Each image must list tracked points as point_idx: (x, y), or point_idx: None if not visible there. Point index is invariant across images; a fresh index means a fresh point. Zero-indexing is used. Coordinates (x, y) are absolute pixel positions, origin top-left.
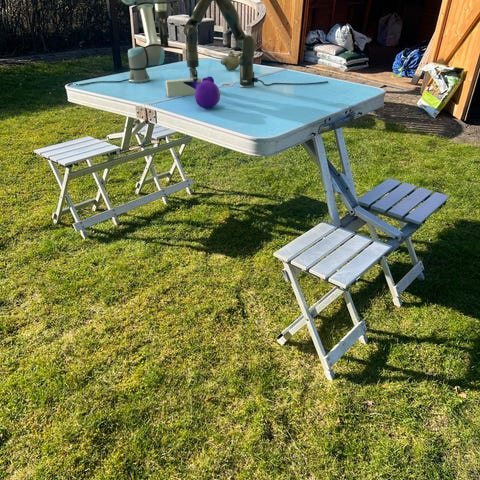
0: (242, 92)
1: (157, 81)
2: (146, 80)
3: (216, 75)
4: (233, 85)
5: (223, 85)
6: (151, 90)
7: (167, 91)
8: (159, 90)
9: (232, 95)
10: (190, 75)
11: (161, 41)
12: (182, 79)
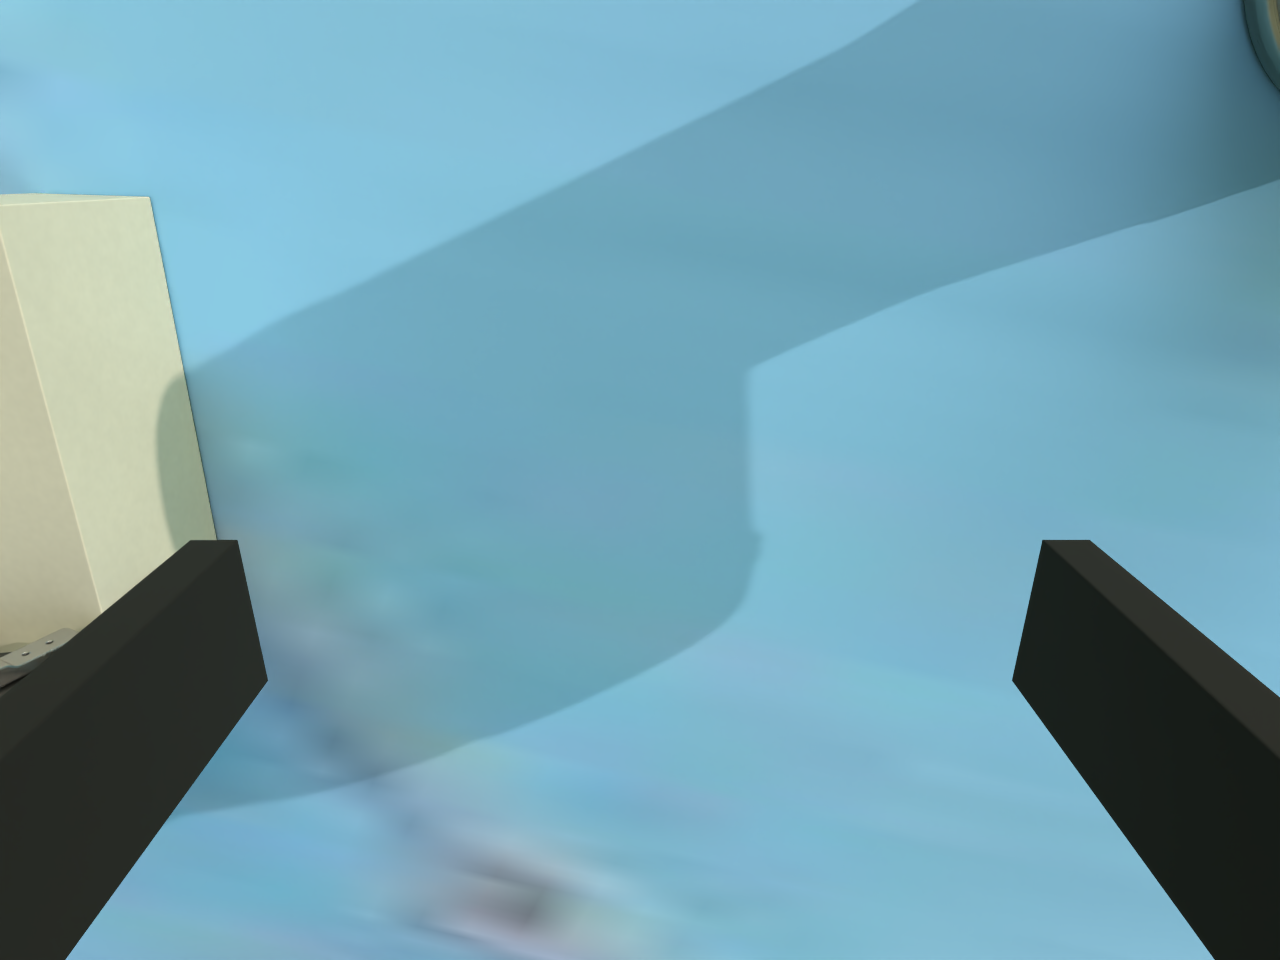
0: (137, 929)
1: (1180, 243)
2: (1270, 47)
3: (1064, 948)
4: (475, 947)
5: (511, 879)
6: (543, 16)
7: (22, 196)
8: (498, 147)
9: None
10: (53, 633)
11: (1114, 657)
12: (31, 487)
